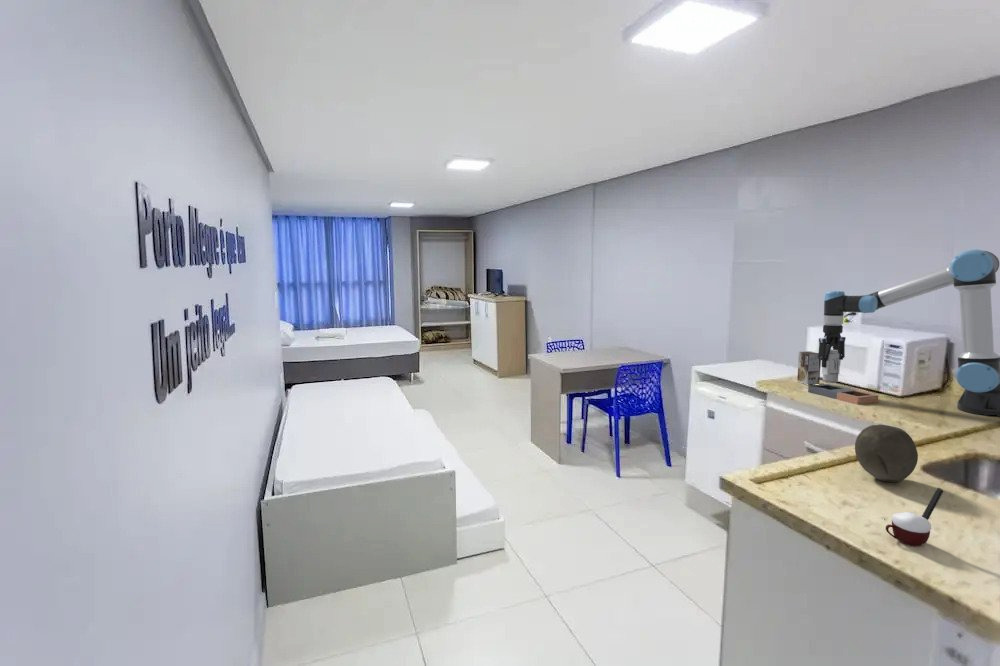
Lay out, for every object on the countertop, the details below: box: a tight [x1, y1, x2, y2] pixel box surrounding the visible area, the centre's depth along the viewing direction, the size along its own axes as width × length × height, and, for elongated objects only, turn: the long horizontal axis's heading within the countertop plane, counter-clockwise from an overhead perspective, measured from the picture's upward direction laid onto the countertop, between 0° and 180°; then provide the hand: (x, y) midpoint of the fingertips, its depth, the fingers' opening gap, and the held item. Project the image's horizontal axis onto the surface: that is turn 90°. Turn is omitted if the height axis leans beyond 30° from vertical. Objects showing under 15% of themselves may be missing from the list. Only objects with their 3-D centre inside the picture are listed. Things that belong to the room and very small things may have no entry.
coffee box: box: [796, 351, 822, 386], centre depth 250 cm, size 9×6×16 cm
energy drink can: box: [822, 349, 840, 384], centre depth 228 cm, size 6×6×15 cm
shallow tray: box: [807, 383, 880, 405], centre depth 223 cm, size 24×12×3 cm, turn 17°
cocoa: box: [885, 487, 944, 547], centre depth 103 cm, size 10×6×12 cm, turn 56°
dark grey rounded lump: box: [854, 424, 919, 483], centre depth 134 cm, size 14×14×15 cm
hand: (830, 373), depth 228 cm, fingers closed on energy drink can, 6 cm apart
